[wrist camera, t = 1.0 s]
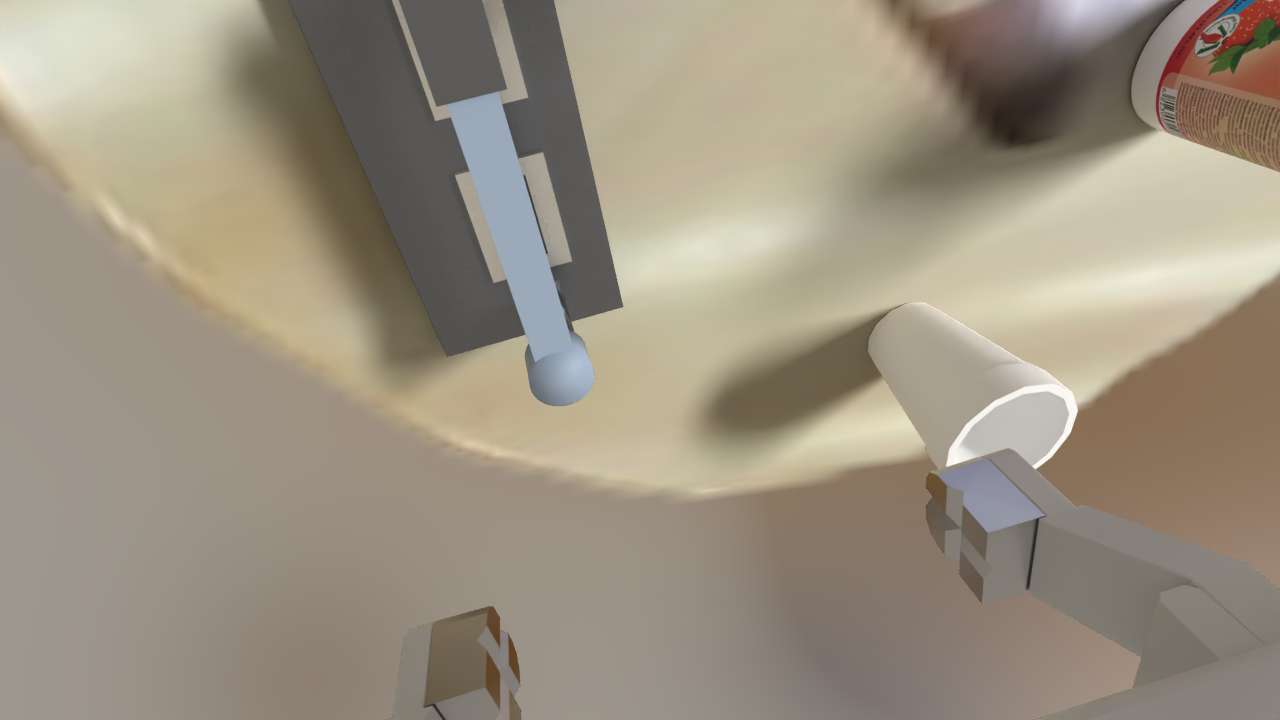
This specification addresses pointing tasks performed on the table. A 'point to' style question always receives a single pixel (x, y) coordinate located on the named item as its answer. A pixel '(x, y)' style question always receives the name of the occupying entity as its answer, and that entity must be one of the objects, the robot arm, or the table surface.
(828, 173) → the table surface
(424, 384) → the table surface
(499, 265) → the switch panel
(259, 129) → the table surface
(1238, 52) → the fruit juice
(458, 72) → the swing arm
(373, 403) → the table surface
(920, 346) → the foam cup
